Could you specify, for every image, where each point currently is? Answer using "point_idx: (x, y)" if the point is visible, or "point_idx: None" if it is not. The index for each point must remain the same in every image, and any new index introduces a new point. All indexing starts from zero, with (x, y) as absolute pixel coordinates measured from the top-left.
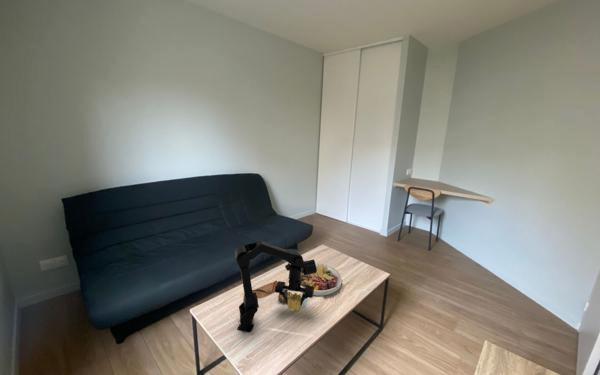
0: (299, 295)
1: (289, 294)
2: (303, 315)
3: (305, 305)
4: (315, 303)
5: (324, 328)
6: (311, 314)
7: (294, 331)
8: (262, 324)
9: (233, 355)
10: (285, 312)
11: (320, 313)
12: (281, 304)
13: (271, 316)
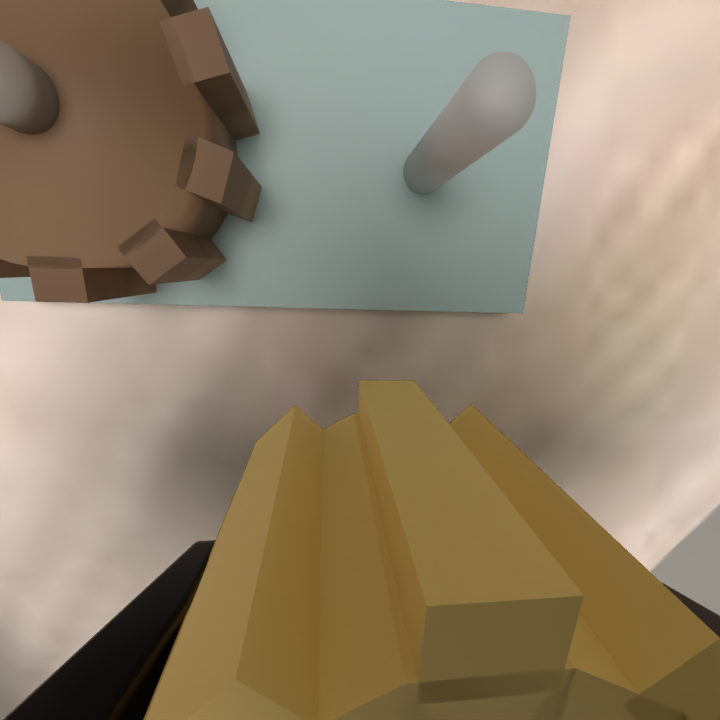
0: (715, 711)
1: (144, 46)
2: (480, 402)
3: (521, 243)
4: (659, 114)
5: (689, 520)
6: (579, 364)
7: None
8: (35, 630)
9: None
10: (235, 403)
11: (692, 323)
12: (106, 301)
13: (76, 508)
